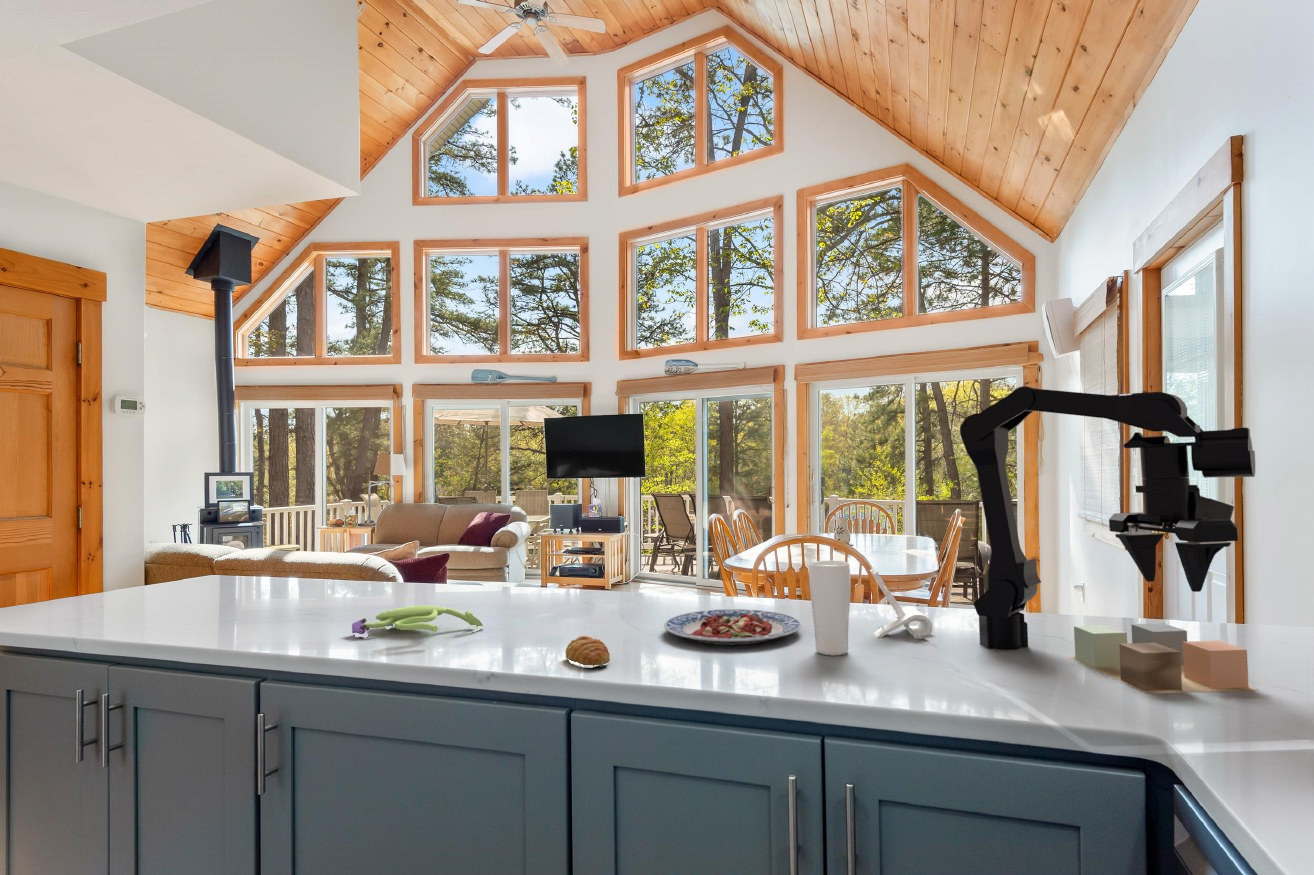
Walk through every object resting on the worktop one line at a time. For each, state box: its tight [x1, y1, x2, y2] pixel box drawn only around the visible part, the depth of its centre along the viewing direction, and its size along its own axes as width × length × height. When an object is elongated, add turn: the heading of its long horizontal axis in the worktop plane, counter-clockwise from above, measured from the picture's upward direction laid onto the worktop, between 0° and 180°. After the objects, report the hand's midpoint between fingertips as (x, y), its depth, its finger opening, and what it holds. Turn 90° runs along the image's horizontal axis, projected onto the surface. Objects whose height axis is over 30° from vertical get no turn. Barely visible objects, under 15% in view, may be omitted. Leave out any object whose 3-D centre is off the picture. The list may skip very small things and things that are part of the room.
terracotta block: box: [1183, 640, 1250, 689], centre depth 102 cm, size 5×5×5 cm
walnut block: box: [1119, 642, 1182, 691], centre depth 102 cm, size 5×5×5 cm
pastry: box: [565, 635, 611, 666], centre depth 123 cm, size 9×7×4 cm
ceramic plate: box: [663, 608, 802, 645], centre depth 141 cm, size 26×26×3 cm
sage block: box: [1073, 624, 1128, 668], centre depth 113 cm, size 5×5×5 cm
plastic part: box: [869, 567, 933, 639], centre depth 138 cm, size 8×10×12 cm
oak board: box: [1068, 656, 1259, 695], centre depth 107 cm, size 15×18×1 cm
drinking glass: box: [808, 560, 851, 657], centre depth 126 cm, size 7×7×15 cm
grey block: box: [1130, 622, 1188, 665], centre depth 113 cm, size 5×5×5 cm
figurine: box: [351, 605, 484, 634], centre depth 148 cm, size 18×27×6 cm
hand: (1172, 586), depth 108 cm, fingers open, 9 cm apart
